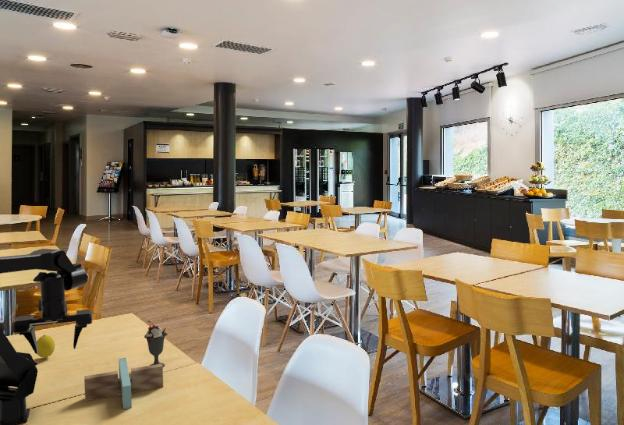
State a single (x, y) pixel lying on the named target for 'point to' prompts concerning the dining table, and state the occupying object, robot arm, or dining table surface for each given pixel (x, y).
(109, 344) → the dining table surface
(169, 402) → the dining table surface
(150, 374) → the walnut slotted plate
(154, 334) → the sundae
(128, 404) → the teal slotted plate
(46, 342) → the lemon
